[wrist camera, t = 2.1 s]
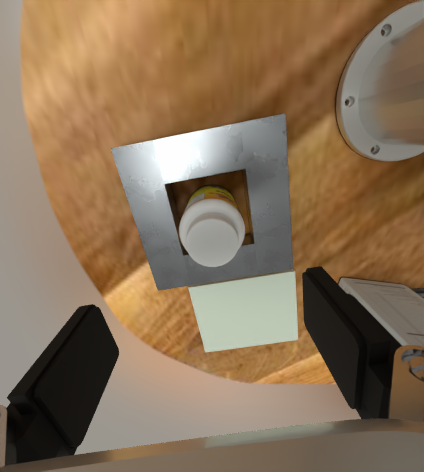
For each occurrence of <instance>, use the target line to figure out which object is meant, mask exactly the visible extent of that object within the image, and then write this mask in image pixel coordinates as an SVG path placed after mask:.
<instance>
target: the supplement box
mask: <svg viewBox="0 0 424 472" xmlns="http://www.w3.org/2000/svg"><path fill="white" fill-rule="evenodd" d="M338 285H339V286H340V287H341V288H342V289H343V290H344V291H345V292H346V293H347V294H348V293H349V294H351V295H353V296H354V297H355V298H356V299H357V300H358V301H359V302H360V303H361V304H362V305H363V306H364V307H365V308H366V309H367V310H368V311H369V312H370V313H371V314H372V315H373V316H374V317H375V318H376V319H377V321H378V322H379V323H380V324H381V325H382V326H383V327H384V328H385V329H386V330H387V331H388V332H389V333H390V334H391V335H392V336H393V337H394V338H395V339H396V340H397V341H398V342H399V343H400V344H401V345H402V346H405V345H418V346H423V347H424V298H422V297H421V296H419V295H418V294H417V293H415V292H414V291H412V290H411V289H410V288H408V287H407V286H405V285H403V284H395V283H386V282H377V281H369V280H360V279H351V278H341V279H340V282H339V284H338Z"/></svg>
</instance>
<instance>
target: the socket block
mask: <svg viewBox="0 0 424 472" xmlns="http://www.w3.org/2000/svg"><path fill="white" fill-rule="evenodd" d="M111 151H112V154H113V157H114V160H115V163H116V166H117V169H118V172H119V175H120V178H121V181H122V184H123V187H124V190H125V193H126V196H127V199H128V202H129V205H130V208H131V211H132V214H133V217H134V220H135V223H136V226H137V229H138V232H139V235H140V238H141V241H142V244H143V247H144V250H145V253H146V256H147V259H148V262H149V265H150V268H151V271H152V274H153V277H154V280H155V283H156V286H157V289H158V290H165V289H171V288H177V287H184V286H190V285H196V284H203V283H209V282H215V281H222V280H228V279H235V278H241V277H247V276H254V275H260V274H266V273H273V272H279V271H285V270H292V269H293V256H292V236H291V215H290V195H289V175H288V154H287V134H286V114H280V115H275V116H270V117H265V118H260V119H255V120H250V121H245V122H240V123H235V124H230V125H225V126H220V127H216V128H211V129H206V130H201V131H196V132H191V133H186V134H181V135H176V136H171V137H166V138H161V139H156V140H151V141H146V142H141V143H137V144H132V145H127V146H122V147H117V148H112V149H111ZM236 170H242V173H243V181H244V189H245V197H246V205H247V213H248V221H249V229H250V234H245V236H244V240H243V242H242V245H241V246H240V248H239V249H238V250H237V253H236V255H235V256H234V257H233V258H232V259H231V260H230V261H229V262H228V263H226V264H224V265H222V266H218V267H207V266H203V265H201V264H199V263H197V262H196V261H194V260H193V259H192V258H191V256H190V255H189V253H188V251H187V250H186V249H185V248H184V246H183V244H182V242H181V239H180V235H179V226H180V219H179V215H178V211H177V207H176V203H175V199H174V195H173V191H172V187H171V183H173V182H178V181H183V180H189V179H194V178H199V177H204V176H210V175H215V174H220V173H226V172H231V171H236Z"/></svg>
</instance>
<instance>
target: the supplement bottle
mask: <svg viewBox="0 0 424 472" xmlns="http://www.w3.org/2000/svg"><path fill="white" fill-rule="evenodd" d="M179 235H180V239H181V242H182V244H183V246H184V248H185V249H186V250H187V251H188V253H189V255H190V256H191V258H192V259H193V260H194V261H196V262H197V263H199V264H201V265H203V266H207V267H218V266H222V265H224V264H226V263H228V262H229V261H230V260H231V259H232V258H233V257H234V256H235V255H236V253H237V250H238V249H239V248H240V246H241V245H242V242H243V240H244V236H245V225H244V221H243V218H242V216H241V214H240V211H239V209H238V207H237V204H236V202H235V200H234V198H233V196H232V195H231V194H230V192H229V191H227V190H226V189H224V188H223V187H220V186H216V185H207V186H203V187H201V188H199V189H198V190H196V191H195V192H194V193H193V194H192V196H191V197H190V199H189V202H188V204H187V206H186V209H185V211H184V214H183V216H182V218H181V221H180V226H179Z"/></svg>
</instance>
